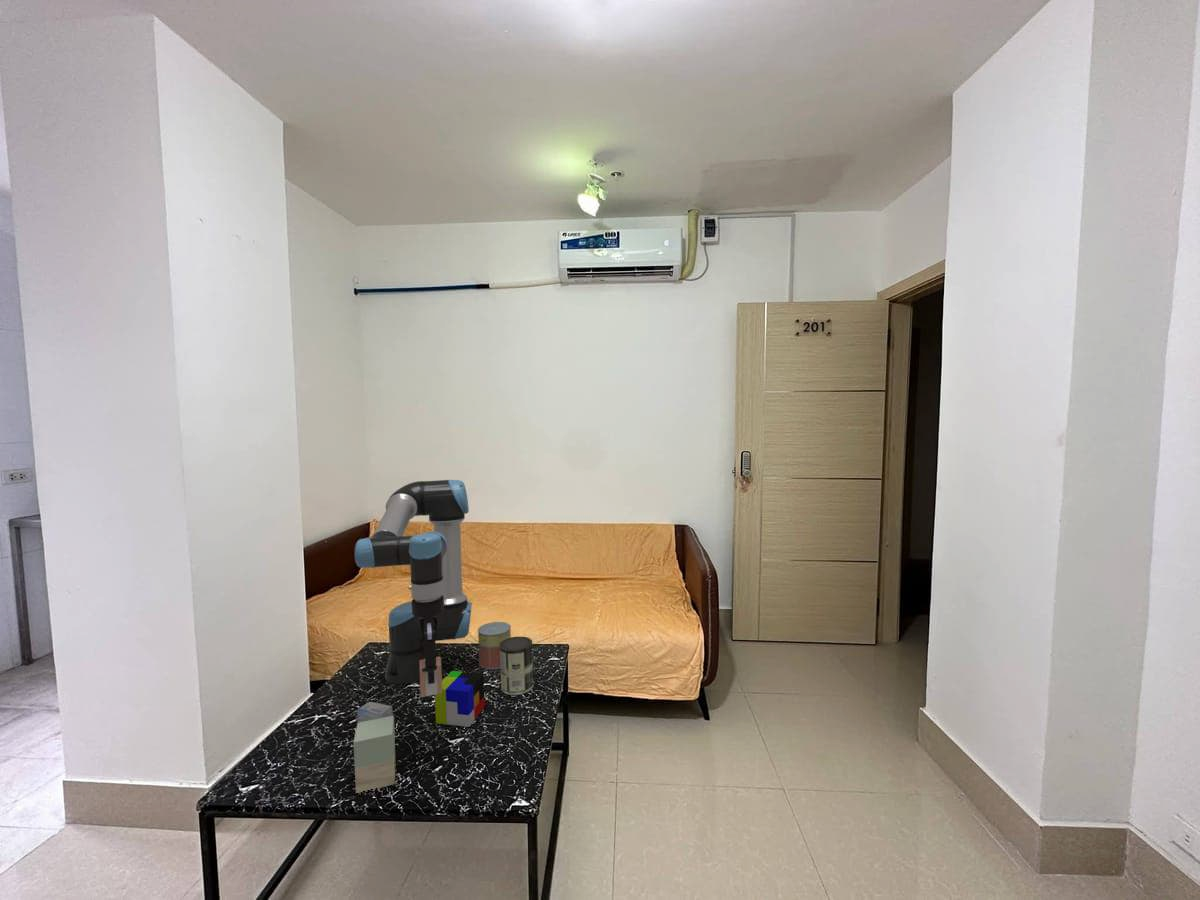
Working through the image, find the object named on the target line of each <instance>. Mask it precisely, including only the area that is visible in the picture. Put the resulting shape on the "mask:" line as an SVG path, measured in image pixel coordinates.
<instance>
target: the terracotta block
mask: <svg viewBox="0 0 1200 900" xmlns="http://www.w3.org/2000/svg"><path fill="white" fill-rule="evenodd" d="M436 665H437V691H438V694H440V693H442V681H443V676H442V659H441V656H436ZM423 668H425V659H423V660H420V680H419V686H420V687H419V688H420V690H419V691H420V698H423V697H427V696H426V686H425V671H424V672H422V669H423Z"/></svg>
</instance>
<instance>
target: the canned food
mask: <svg viewBox="0 0 1200 900" xmlns="http://www.w3.org/2000/svg"><path fill="white" fill-rule="evenodd" d="M511 628H512V627H511V624H509V622H505V621H492V622H488V623H485V624H482V625H480V626H479V627H478V628H477V633H478V635H477V636H478V638H477V639H478V664H479V667H480V666H481V667H480V668H482V669H484V668H486V670H498V668H499V669H501V665H500V648H499V644H500V643H501V642H502V641H503V640H505V639H507V638H511V637H512V636H511Z"/></svg>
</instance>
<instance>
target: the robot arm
mask: <svg viewBox="0 0 1200 900" xmlns="http://www.w3.org/2000/svg"><path fill="white" fill-rule="evenodd" d="M469 507H470V506H469V499H468V494H467V489H466V486H465V483H464V481H462V480H459V479H443V480H441V479H440V480H421V481H414V482H411V483H408V484H406V485H403V486H402V487H400V488H399V489H397V490H395V491H394V492H393V493H391V495H390V496H389V498H388V499H387V501H386V504H385V512H384V513H383V516H382V517H381V519H380V521H379V523H378V524H377V527H376V529H375V530H374V533H373V534H372V536H371V537H365V538H360V539H358V540H357V542H356V543H355V545H354V562H355V564H356V566H357V567H358V568H361V569H362V568H369V569H374V568H381V567H383V568H384V567H393V566H394V567H395V566H409V565H410V570H409V571H410V584H411V585H409V586H408V590H409V591H411V599H412V600H411V601H406V602H404V603H402V604H399V605H397V606H395V607H394V608H392V609H391V611H389V614H388V636H389V638H388V639H389V656H388V660H387V663H386V667H385V671H384V678H385V679H384V680H385V681H386V682H387V683H389V684H392V685H408V684H412V683H416V682H420V660H423V659H425V668H423V669H422V672H424V671H425V686H426V696H425V697H429V696H435V694H438V691H437V665H436V657H437V656H439V652H438V650H436V648H437V647H436V642H438V641H448V640H453V641H454V640H457V639H462V638H466V637H467V636H468V635H469V631H470V626H471V625H470V624H471V617H472V616H471V615H472V602H471V601H468V596H467V595H466V594H465V593H463V571H462V570H463V569H462V565H463V564H462V541H461V539H462V538H461V537H462V536H461V533H462V532H461V523H462V522H463V521H464V520H465V515H466V514H468V513H469V511H470V510H469ZM420 516H428V522H430V523H431V524H432V525H433V530H432V531H428V532H426V533H425V532H424V533H418V534H415V535H405V532H406V530H407V527H408V526H409V523H410V521H411V519H413V518H415V517H420Z"/></svg>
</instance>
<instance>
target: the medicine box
mask: <svg viewBox="0 0 1200 900" xmlns="http://www.w3.org/2000/svg"><path fill="white" fill-rule="evenodd" d="M356 713H357V724H358V723H359V722H364V721H369V720H374V719H379V718H384V717H389V716H394V713H393V706H392V705H388V704H382V703H378V702H372V701H369V702H367V703H365V704H364V705H363V706H361V707H360V708H358V709H357V711H356Z"/></svg>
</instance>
